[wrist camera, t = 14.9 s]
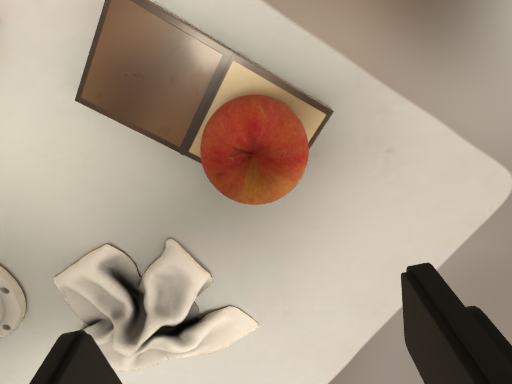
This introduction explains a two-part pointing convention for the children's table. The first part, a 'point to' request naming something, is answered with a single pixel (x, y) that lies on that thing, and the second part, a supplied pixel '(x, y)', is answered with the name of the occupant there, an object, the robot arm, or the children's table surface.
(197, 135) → the board
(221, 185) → the apple
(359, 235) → the children's table surface
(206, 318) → the cloth
